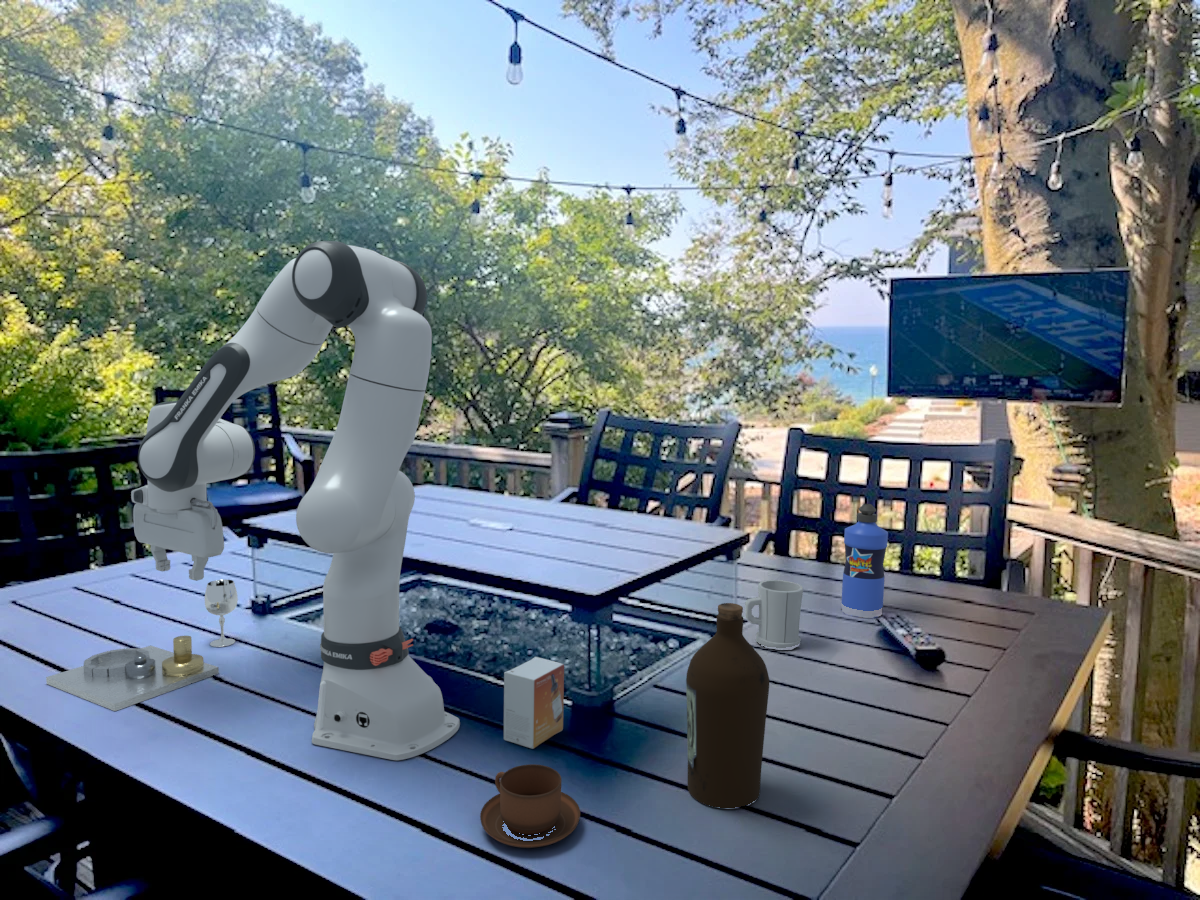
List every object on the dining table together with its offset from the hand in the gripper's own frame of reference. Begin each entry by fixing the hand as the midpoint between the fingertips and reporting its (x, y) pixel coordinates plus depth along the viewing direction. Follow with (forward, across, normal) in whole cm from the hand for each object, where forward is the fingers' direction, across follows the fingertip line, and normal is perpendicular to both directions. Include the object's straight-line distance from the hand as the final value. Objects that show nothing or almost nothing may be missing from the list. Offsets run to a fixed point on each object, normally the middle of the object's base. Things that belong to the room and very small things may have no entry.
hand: (179, 574), depth 138 cm
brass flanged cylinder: (+17, 0, 0) cm, 17 cm away
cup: (+17, -83, -73) cm, 111 cm away
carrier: (+18, +6, +5) cm, 20 cm away
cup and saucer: (+17, -78, +5) cm, 80 cm away
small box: (+17, -64, -15) cm, 68 cm away
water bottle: (+16, -93, -104) cm, 141 cm away
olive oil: (+17, -94, -15) cm, 97 cm away
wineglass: (+18, +9, -14) cm, 25 cm away
